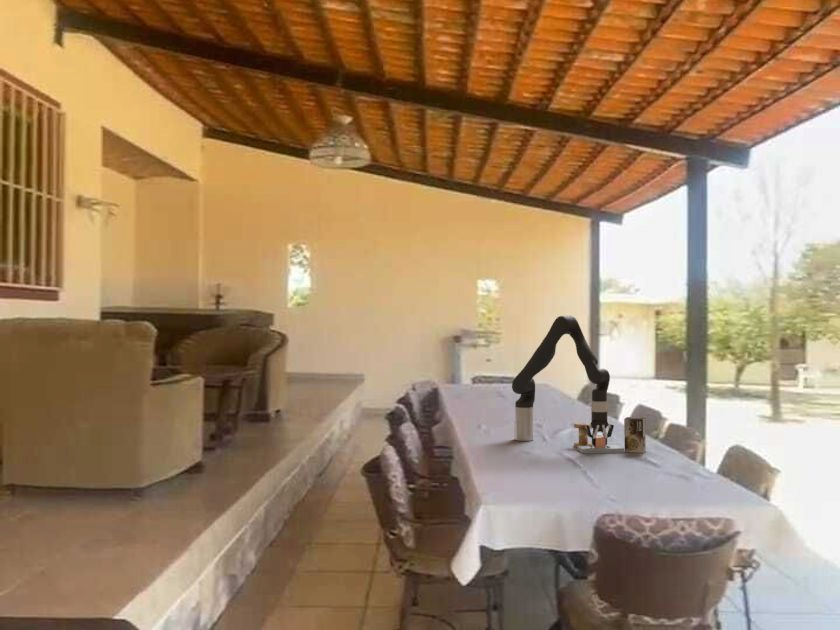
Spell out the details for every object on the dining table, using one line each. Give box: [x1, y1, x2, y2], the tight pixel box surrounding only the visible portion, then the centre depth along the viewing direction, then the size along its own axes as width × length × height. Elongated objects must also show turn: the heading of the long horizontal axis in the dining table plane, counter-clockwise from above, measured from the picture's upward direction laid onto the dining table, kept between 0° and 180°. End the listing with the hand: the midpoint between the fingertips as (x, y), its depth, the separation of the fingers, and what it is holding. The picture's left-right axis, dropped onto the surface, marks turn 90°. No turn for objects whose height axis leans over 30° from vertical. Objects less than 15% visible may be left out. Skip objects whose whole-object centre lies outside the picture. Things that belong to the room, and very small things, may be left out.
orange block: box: [593, 436, 606, 448], centre depth 419 cm, size 4×4×5 cm
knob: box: [573, 422, 594, 448], centre depth 432 cm, size 9×9×11 cm
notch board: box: [576, 444, 625, 454], centre depth 418 cm, size 20×10×2 cm, turn 96°
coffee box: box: [623, 416, 647, 454], centre depth 416 cm, size 9×6×16 cm
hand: (599, 445), depth 419 cm, fingers closed on orange block, 4 cm apart
